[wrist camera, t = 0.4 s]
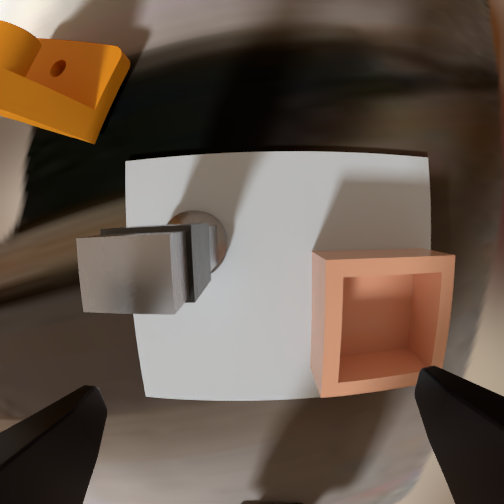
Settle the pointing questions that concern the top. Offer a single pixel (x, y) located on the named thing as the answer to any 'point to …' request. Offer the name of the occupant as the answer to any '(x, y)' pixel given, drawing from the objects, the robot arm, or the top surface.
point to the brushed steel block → (150, 264)
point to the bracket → (58, 82)
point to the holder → (378, 317)
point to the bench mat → (265, 259)
